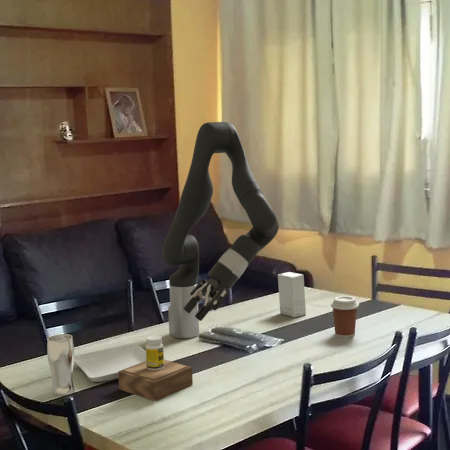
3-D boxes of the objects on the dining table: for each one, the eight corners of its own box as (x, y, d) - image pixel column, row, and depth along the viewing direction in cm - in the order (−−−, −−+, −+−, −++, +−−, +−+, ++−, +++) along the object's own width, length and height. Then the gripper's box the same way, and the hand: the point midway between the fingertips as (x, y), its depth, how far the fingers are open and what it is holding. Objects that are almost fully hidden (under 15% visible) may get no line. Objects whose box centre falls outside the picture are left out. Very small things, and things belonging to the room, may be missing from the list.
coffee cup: (327, 337, 237) (327, 301, 235) (334, 329, 245) (334, 294, 243) (355, 339, 233) (355, 303, 232) (361, 331, 242) (361, 296, 240)
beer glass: (52, 387, 200) (48, 334, 198) (78, 386, 201) (74, 333, 199) (48, 397, 194) (44, 342, 191) (75, 395, 194) (71, 340, 192)
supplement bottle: (161, 371, 195) (160, 340, 194) (144, 370, 196) (142, 340, 195) (166, 365, 200) (165, 335, 198) (149, 364, 201) (148, 334, 199)
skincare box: (306, 315, 263) (305, 274, 261) (293, 318, 260) (292, 277, 257) (291, 310, 270) (290, 270, 268) (278, 313, 267) (277, 273, 264)
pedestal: (119, 389, 198) (118, 370, 197) (156, 374, 208) (155, 356, 207) (155, 401, 189) (154, 381, 188) (192, 384, 199) (191, 366, 198)
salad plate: (90, 389, 200) (90, 377, 199) (69, 366, 218) (68, 355, 218) (163, 374, 209) (162, 362, 209) (136, 353, 228) (135, 343, 227)
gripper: (209, 256, 208) (173, 301, 205) (230, 265, 195) (191, 313, 192) (227, 272, 211) (191, 316, 208) (248, 282, 198) (211, 329, 195)
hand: (191, 315), depth 200 cm, fingers open, 8 cm apart
